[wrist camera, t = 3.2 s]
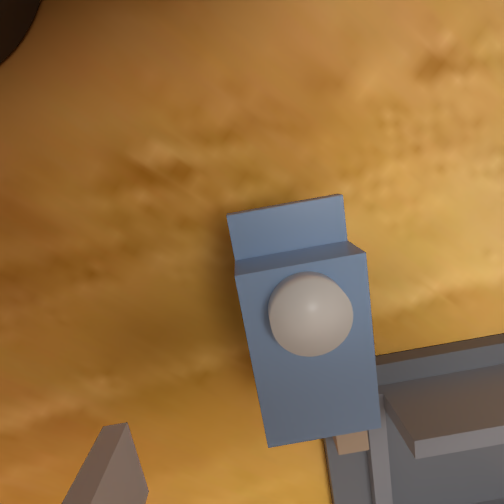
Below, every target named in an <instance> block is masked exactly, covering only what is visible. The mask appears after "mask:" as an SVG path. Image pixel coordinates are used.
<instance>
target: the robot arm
mask: <svg viewBox="0 0 504 504" xmlns="http://www.w3.org/2000/svg"><path fill="white" fill-rule="evenodd" d="M39 3H40V0H0V63H1V62H2V61H3V60H4V59H5V58H6V57H7V56H8V55H9V54H10V53H11V52H12V51H13V50H14V49H15V48H16V46H17V45H18V44H19V42H20V41H21V40H22V38H23V37H24V35H25V33H26V32H27V30H28V28H29V27H30V25H31V23H32V21H33V18H34V16H35V14H36V11H37V9H38V6H39ZM148 492H149V490H148V487H147V484H146V481H145V477H144V474H143V471H142V468H141V465H140V461H139V458H138V455H137V452H136V449H135V445H134V442H133V439H132V436H131V433H130V429H129V426H128V423H127V422H126V423H120V424H115V425H109V426H103V428H102V430H101V432H100V434H99V435H98V437H97V439H96V441H95V443H94V445H93V447H92V448H91V450H90V452H89V454H88V456H87V458H86V460H85V461H84V463H83V465H82V467H81V469H80V471H79V473H78V474H77V476H76V478H75V480H74V482H73V484H72V486H71V487H70V489H69V491H68V493H67V495H66V497H65V499H64V500H63V502H62V504H145V503H146V499H147V496H148Z"/></svg>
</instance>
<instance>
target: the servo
mask: <svg viewBox="0 0 504 504" xmlns="http://www.w3.org/2000/svg"><path fill="white" fill-rule="evenodd" d="M226 217H227V222H228V227H229V232H230V237H231V242H232V248H233V253H234V258H235V275H234V276H235V281H236V286H237V291H238V296H239V302H240V307H241V312H242V317H243V322H244V327H245V332H246V337H247V342H248V347H249V352H250V357H251V362H252V368H253V373H254V378H255V383H256V388H257V393H258V398H259V403H260V408H261V413H262V418H263V423H264V428H265V433H266V439H267V444H268V448H270V447H276V446H282V445H287V444H293V443H299V442H304V441H310V440H316V439H321V438H327V437H333V436H338V435H344V434H350V433H355V432H361V431H367V430H372V429H378V428H381V417H380V405H379V394H378V383H377V372H376V361H375V349H374V338H373V327H372V316H371V305H370V293H369V282H368V271H367V260H366V252H364V251H363V250H361V249H360V248H358V247H357V246H355V245H354V244H352V243H350V242H349V241H347V232H346V222H345V212H344V202H343V195H341V194H334V195H328V196H322V197H317V198H311V199H306V200H300V201H294V202H289V203H283V204H278V205H272V206H267V207H261V208H255V209H250V210H244V211H239V212H233V213H227V215H226Z"/></svg>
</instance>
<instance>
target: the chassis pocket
mask: <svg viewBox="0 0 504 504" xmlns="http://www.w3.org/2000/svg"><path fill="white" fill-rule="evenodd" d="M375 361H376V372H377V383H378V394H379V405H380V417H381V428H378V429H372V430H367V431H361V432H355V433H350V434H344V435H338V436H333V437H327V438H323V440H324V447H325V454H326V461H327V468H328V475H329V482H330V489H331V495H332V502H333V504H504V334H498V335H492V336H487V337H481V338H475V339H470V340H464V341H458V342H453V343H447V344H442V345H436V346H430V347H425V348H419V349H413V350H408V351H402V352H396V353H391V354H385V355H379V356H375Z"/></svg>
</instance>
